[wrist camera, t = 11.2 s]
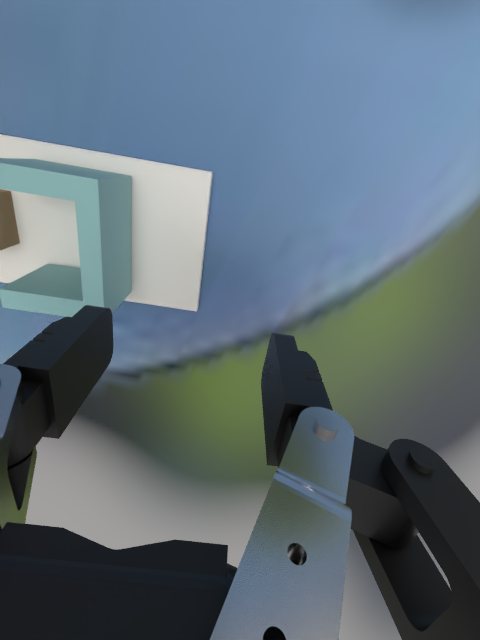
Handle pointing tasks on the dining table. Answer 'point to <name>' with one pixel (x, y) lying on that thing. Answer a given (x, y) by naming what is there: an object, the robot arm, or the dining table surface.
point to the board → (146, 223)
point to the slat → (7, 221)
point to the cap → (93, 238)
